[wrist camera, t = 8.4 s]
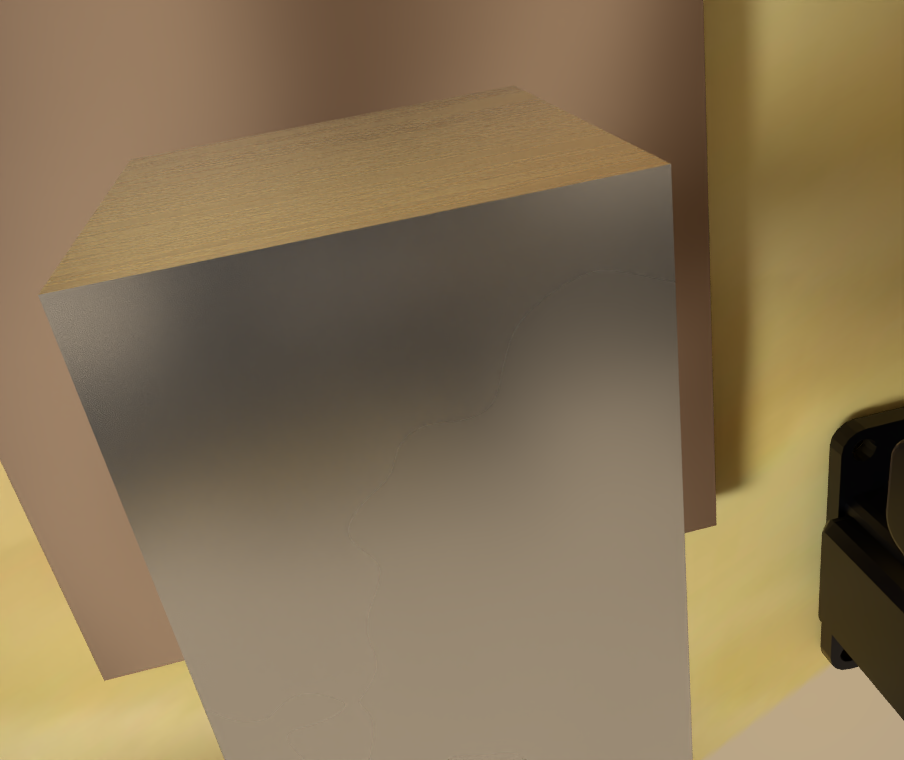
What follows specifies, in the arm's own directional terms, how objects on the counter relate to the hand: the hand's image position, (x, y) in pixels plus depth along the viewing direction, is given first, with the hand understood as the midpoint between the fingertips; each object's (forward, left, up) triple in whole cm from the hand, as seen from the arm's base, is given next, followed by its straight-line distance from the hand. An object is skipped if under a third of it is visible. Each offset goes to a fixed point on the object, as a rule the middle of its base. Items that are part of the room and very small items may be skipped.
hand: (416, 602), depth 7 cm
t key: (0, 0, -7) cm, 7 cm away
